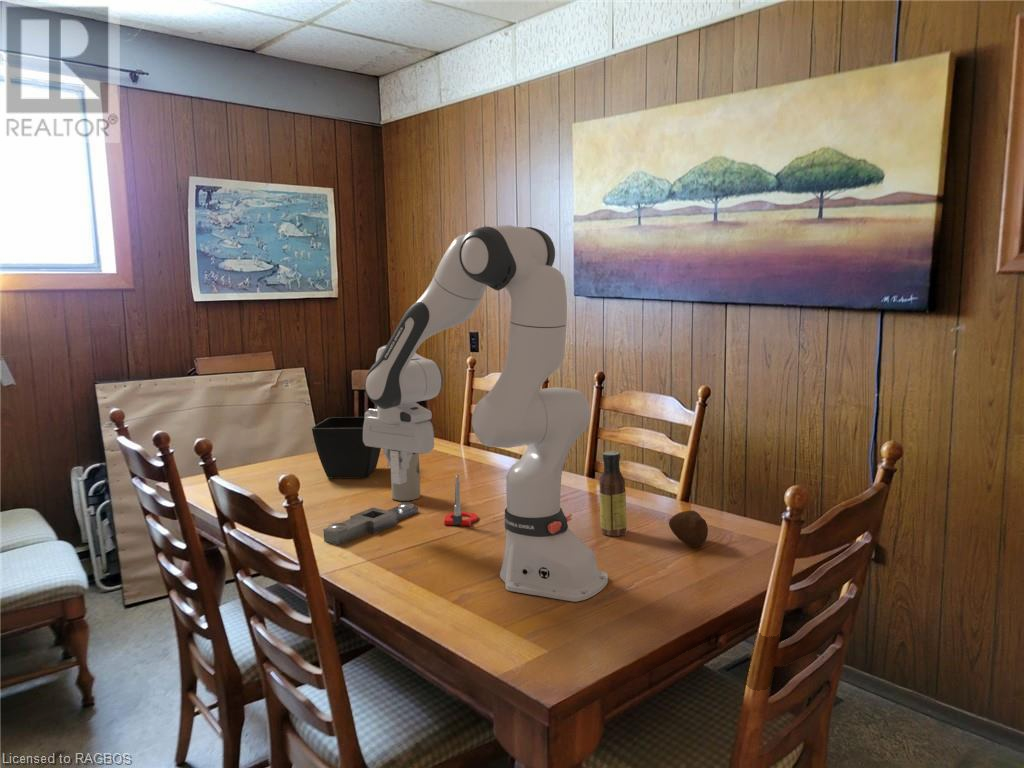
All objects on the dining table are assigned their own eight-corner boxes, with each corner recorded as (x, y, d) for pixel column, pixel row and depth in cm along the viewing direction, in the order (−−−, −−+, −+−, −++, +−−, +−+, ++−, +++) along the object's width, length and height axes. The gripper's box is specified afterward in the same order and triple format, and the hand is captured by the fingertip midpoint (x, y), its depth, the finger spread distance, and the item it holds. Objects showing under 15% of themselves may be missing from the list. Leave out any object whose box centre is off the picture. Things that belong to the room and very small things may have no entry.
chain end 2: (422, 513, 191) (422, 505, 191) (374, 533, 176) (373, 525, 176) (400, 508, 195) (399, 500, 195) (350, 527, 181) (350, 519, 180)
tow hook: (449, 515, 190) (440, 525, 181) (448, 467, 189) (439, 475, 180) (480, 516, 189) (473, 527, 180) (480, 468, 188) (473, 476, 179)
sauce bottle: (627, 529, 177) (628, 450, 174) (624, 538, 171) (625, 456, 168) (601, 527, 178) (601, 448, 175) (597, 536, 172) (597, 455, 169)
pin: (406, 481, 175) (405, 449, 174) (399, 484, 173) (398, 451, 172) (398, 480, 176) (397, 448, 175) (391, 482, 174) (390, 450, 173)
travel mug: (387, 500, 202) (384, 437, 199) (398, 492, 209) (396, 431, 207) (414, 502, 200) (412, 439, 197) (424, 494, 208) (422, 432, 205)
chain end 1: (396, 524, 183) (396, 510, 182) (343, 546, 168) (342, 531, 167) (373, 518, 187) (373, 504, 187) (319, 540, 172) (318, 525, 172)
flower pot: (331, 465, 240) (328, 416, 238) (387, 465, 239) (385, 415, 237) (313, 482, 222) (310, 428, 219) (374, 481, 221) (372, 427, 218)
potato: (695, 553, 161) (696, 519, 160) (662, 541, 169) (662, 508, 168) (716, 546, 165) (717, 513, 164) (683, 534, 173) (684, 502, 172)
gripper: (355, 409, 175) (358, 465, 177) (419, 416, 164) (421, 476, 166) (373, 405, 180) (376, 459, 182) (437, 412, 169) (439, 470, 171)
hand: (398, 467), depth 174 cm, fingers closed on pin, 3 cm apart
